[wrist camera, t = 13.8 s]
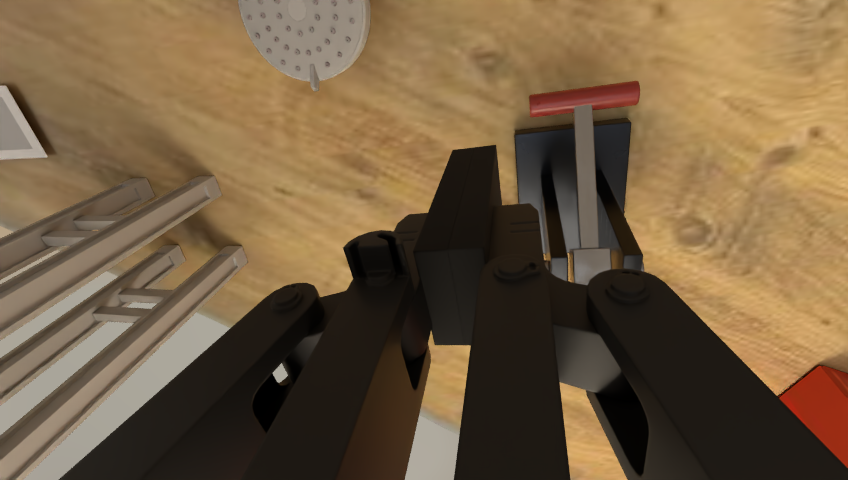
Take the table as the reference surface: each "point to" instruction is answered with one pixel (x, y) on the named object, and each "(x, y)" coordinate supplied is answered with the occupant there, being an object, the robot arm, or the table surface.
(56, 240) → the stool
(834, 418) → the file binder
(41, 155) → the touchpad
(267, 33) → the showerhead
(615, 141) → the tap mount
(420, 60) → the table surface
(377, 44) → the table surface
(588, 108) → the tap lever
